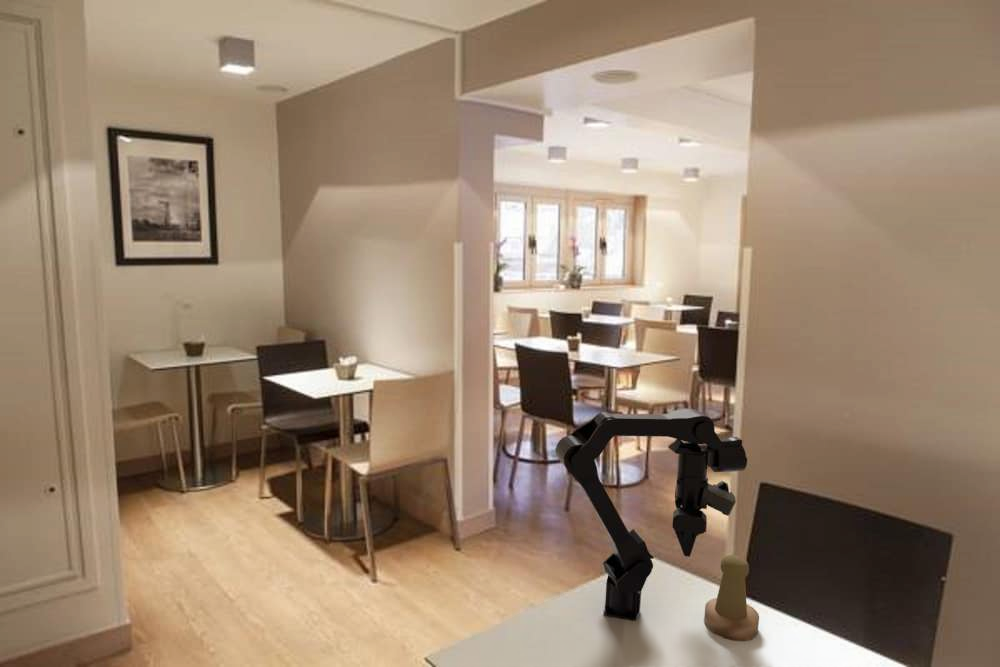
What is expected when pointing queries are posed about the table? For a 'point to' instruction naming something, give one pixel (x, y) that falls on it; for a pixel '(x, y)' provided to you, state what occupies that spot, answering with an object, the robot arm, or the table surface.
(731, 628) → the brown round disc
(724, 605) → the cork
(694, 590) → the table surface
